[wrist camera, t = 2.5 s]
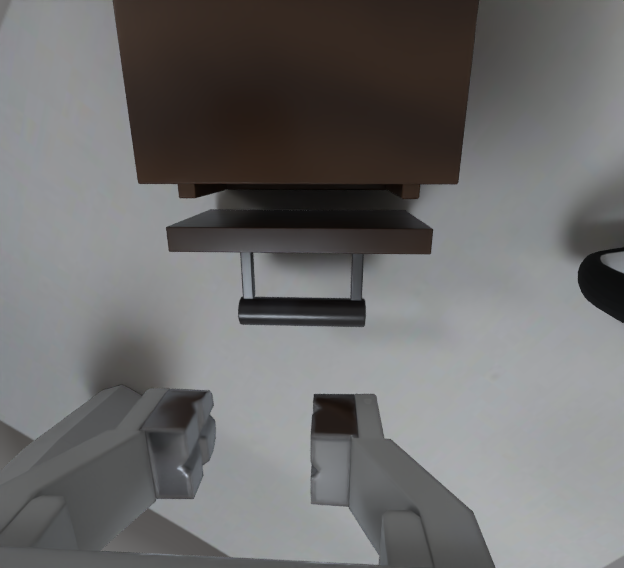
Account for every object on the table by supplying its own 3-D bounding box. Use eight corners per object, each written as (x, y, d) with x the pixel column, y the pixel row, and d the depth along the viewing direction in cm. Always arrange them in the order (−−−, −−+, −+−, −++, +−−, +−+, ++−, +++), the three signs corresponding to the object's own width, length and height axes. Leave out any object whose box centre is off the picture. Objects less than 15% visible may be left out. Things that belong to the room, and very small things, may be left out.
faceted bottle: (124, 454, 32) (-269, 1011, 11) (68, 402, 31) (-503, 926, 10) (178, 418, 30) (-158, 980, 10) (121, 361, 29) (-414, 873, 8)
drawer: (399, 300, 25) (421, 347, 19) (217, 297, 26) (179, 342, 20) (425, -52, 19) (471, -157, 13) (188, -45, 20) (120, -142, 14)
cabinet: (415, 176, 24) (458, 184, 16) (202, 176, 24) (137, 184, 16) (441, -148, 19) (523, -380, 11) (175, -136, 20) (63, -347, 11)
